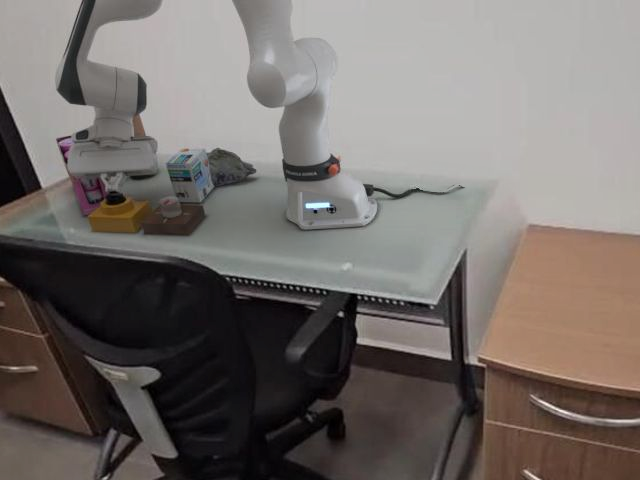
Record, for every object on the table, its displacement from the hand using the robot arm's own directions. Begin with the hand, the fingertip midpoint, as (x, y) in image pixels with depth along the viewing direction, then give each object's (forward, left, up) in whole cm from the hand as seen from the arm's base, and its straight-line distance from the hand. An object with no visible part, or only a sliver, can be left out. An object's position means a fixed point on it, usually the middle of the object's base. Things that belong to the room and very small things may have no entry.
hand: (113, 192), depth 145 cm
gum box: (+16, -14, -8) cm, 23 cm away
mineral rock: (-17, -25, -8) cm, 31 cm away
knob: (-13, 0, -5) cm, 14 cm away
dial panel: (-13, 0, -8) cm, 16 cm away
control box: (0, 0, -8) cm, 8 cm away
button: (0, 0, -3) cm, 3 cm away
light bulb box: (-11, -17, -8) cm, 22 cm away
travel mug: (+10, -29, -8) cm, 32 cm away
